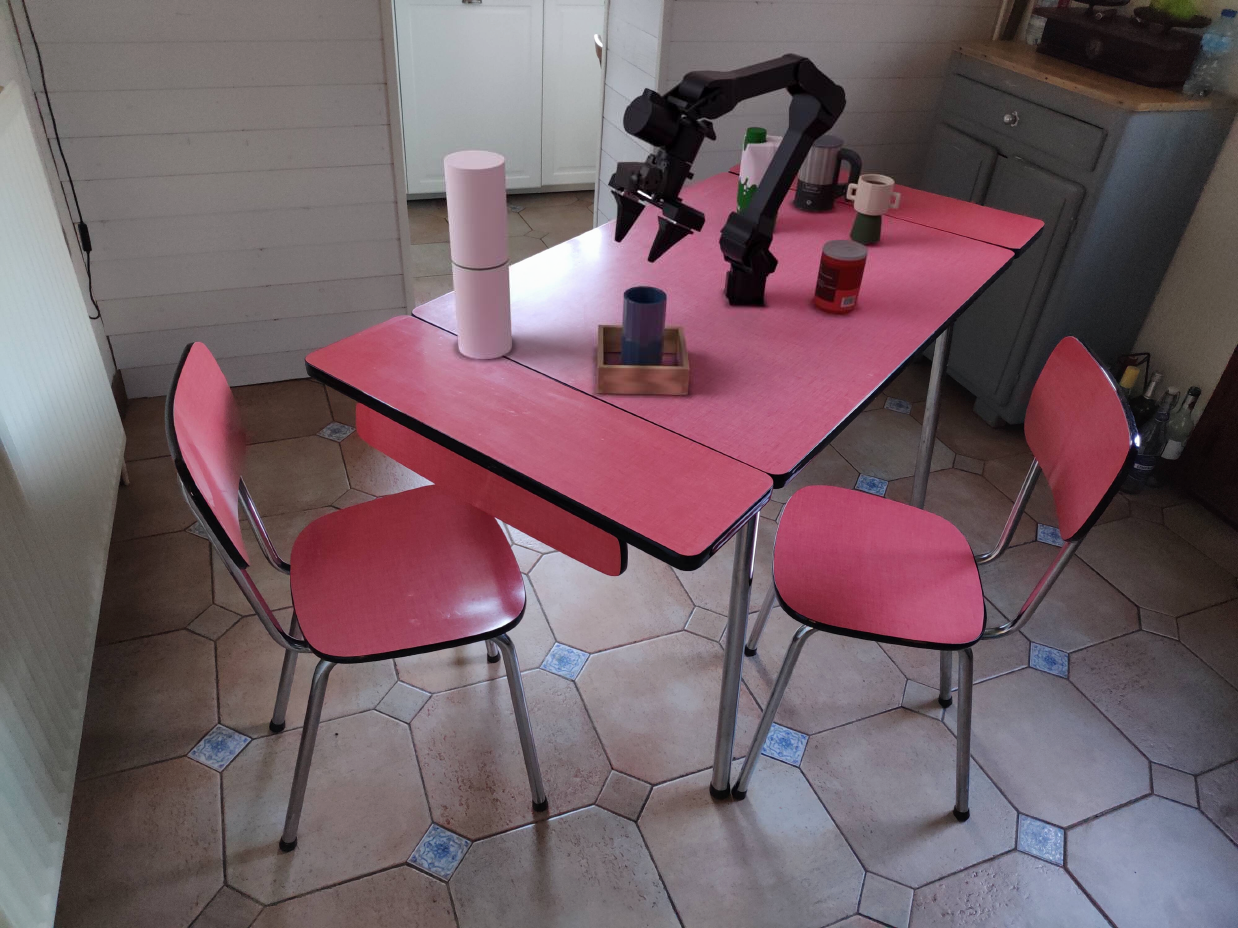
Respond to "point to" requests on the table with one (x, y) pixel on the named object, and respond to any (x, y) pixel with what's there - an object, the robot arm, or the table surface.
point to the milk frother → (825, 175)
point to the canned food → (840, 276)
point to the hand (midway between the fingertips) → (633, 251)
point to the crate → (642, 377)
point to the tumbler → (643, 326)
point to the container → (479, 251)
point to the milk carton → (755, 164)
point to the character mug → (871, 206)
